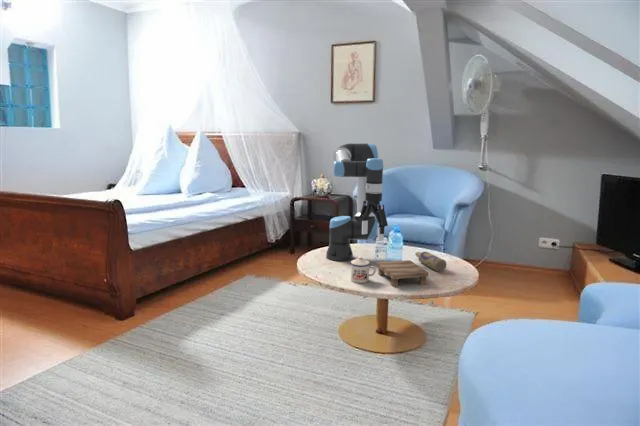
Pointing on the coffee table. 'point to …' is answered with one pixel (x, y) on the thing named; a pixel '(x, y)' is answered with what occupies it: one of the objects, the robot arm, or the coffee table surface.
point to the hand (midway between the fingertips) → (372, 237)
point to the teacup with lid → (360, 270)
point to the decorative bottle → (431, 261)
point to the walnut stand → (402, 271)
